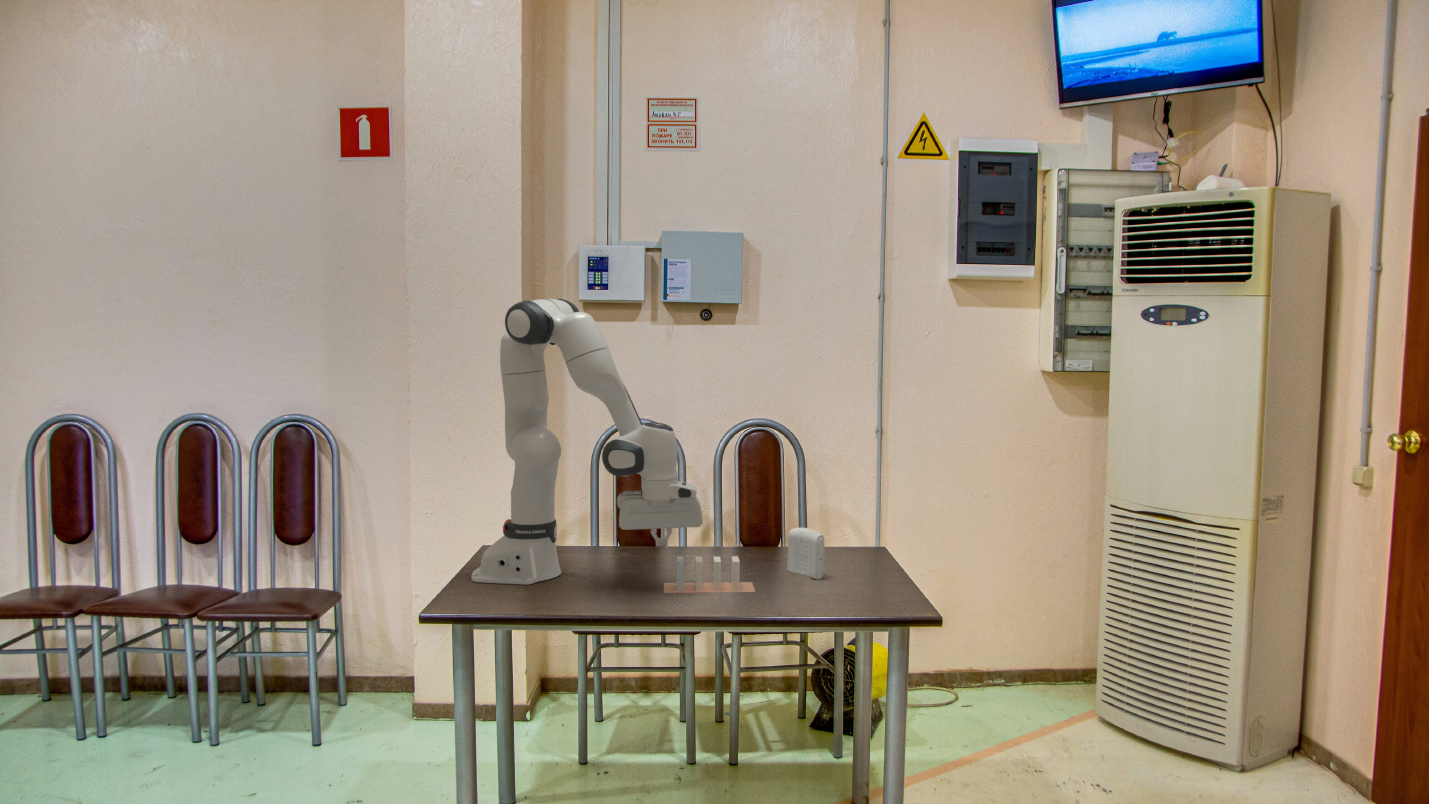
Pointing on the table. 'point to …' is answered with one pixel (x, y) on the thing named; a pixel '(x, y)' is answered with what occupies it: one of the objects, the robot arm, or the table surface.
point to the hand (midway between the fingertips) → (661, 545)
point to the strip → (708, 588)
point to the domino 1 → (680, 573)
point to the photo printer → (806, 552)
